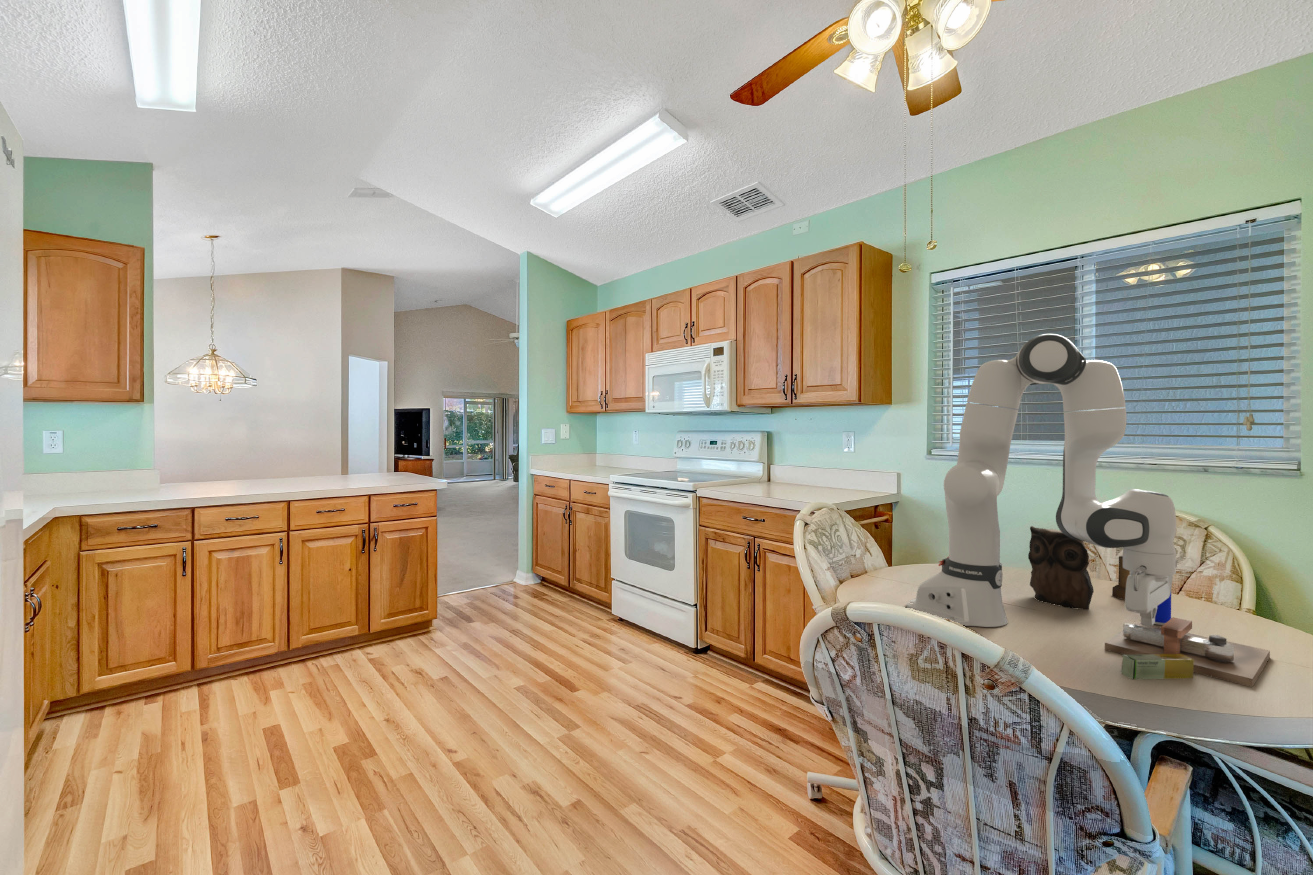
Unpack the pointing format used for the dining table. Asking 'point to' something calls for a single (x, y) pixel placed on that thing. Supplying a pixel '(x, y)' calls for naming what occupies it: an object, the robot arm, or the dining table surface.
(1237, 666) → the walnut base plate
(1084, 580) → the owl
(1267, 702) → the dining table surface
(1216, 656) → the steel link
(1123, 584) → the brown wooden upright piece
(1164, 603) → the beverage can
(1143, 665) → the medication box
